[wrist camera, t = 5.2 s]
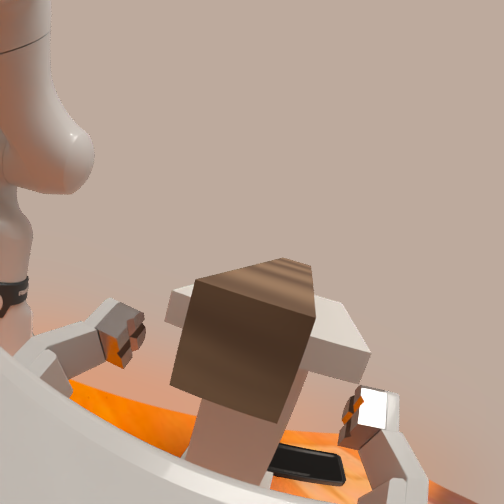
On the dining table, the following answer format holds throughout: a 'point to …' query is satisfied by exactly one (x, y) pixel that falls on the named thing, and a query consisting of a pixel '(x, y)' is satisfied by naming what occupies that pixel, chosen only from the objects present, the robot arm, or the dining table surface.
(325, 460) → the phone
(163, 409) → the dining table surface
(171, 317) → the pedestal
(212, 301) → the walnut bar
